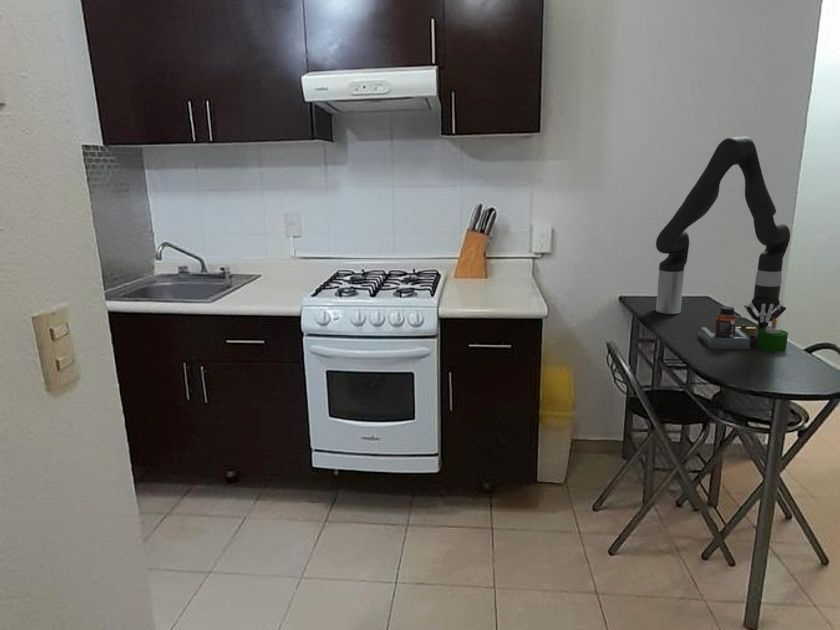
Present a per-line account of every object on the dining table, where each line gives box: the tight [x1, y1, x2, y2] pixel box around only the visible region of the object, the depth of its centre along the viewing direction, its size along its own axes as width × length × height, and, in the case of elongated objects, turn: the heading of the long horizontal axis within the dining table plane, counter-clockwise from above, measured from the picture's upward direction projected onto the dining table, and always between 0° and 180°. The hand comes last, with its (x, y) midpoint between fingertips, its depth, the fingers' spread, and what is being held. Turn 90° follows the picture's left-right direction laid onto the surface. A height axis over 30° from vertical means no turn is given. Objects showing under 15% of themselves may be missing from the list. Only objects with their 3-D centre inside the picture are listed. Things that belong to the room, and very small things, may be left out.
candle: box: [756, 318, 789, 353], centre depth 189 cm, size 8×8×10 cm
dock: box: [698, 326, 751, 350], centre depth 197 cm, size 14×12×4 cm
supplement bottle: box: [714, 305, 738, 337], centre depth 195 cm, size 6×6×11 cm
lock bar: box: [736, 323, 758, 338], centre depth 203 cm, size 2×8×4 cm, turn 79°
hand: (761, 332), depth 202 cm, fingers closed
